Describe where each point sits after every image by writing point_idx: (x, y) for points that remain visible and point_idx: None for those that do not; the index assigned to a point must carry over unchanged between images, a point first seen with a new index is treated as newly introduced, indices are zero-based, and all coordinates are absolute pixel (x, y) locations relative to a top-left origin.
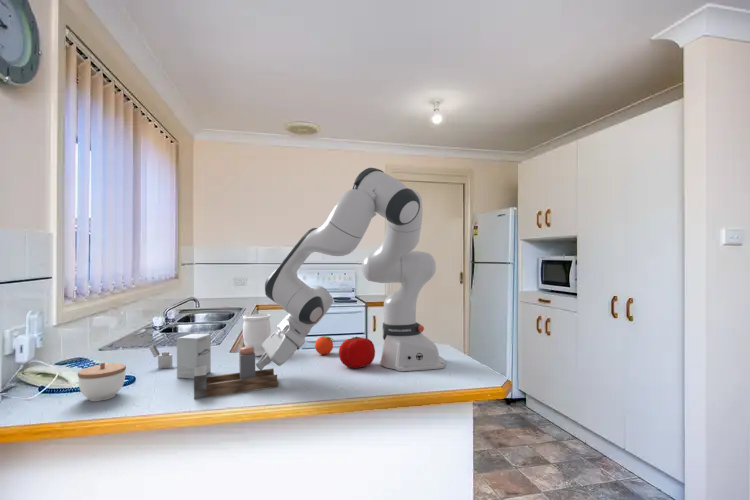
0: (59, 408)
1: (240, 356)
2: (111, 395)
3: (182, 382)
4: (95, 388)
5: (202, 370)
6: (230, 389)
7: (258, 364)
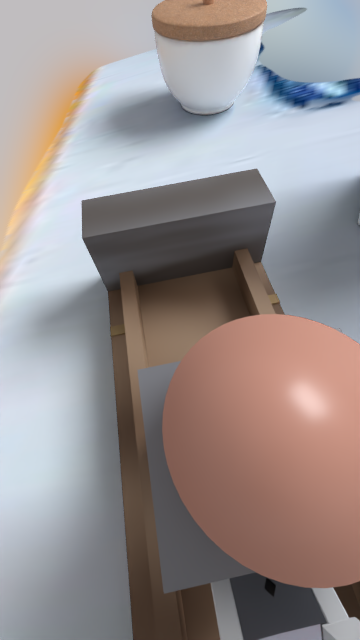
0: (156, 80)
1: (155, 370)
2: (190, 107)
3: (312, 198)
4: (159, 63)
5: (174, 207)
6: (117, 385)
7: (218, 597)
